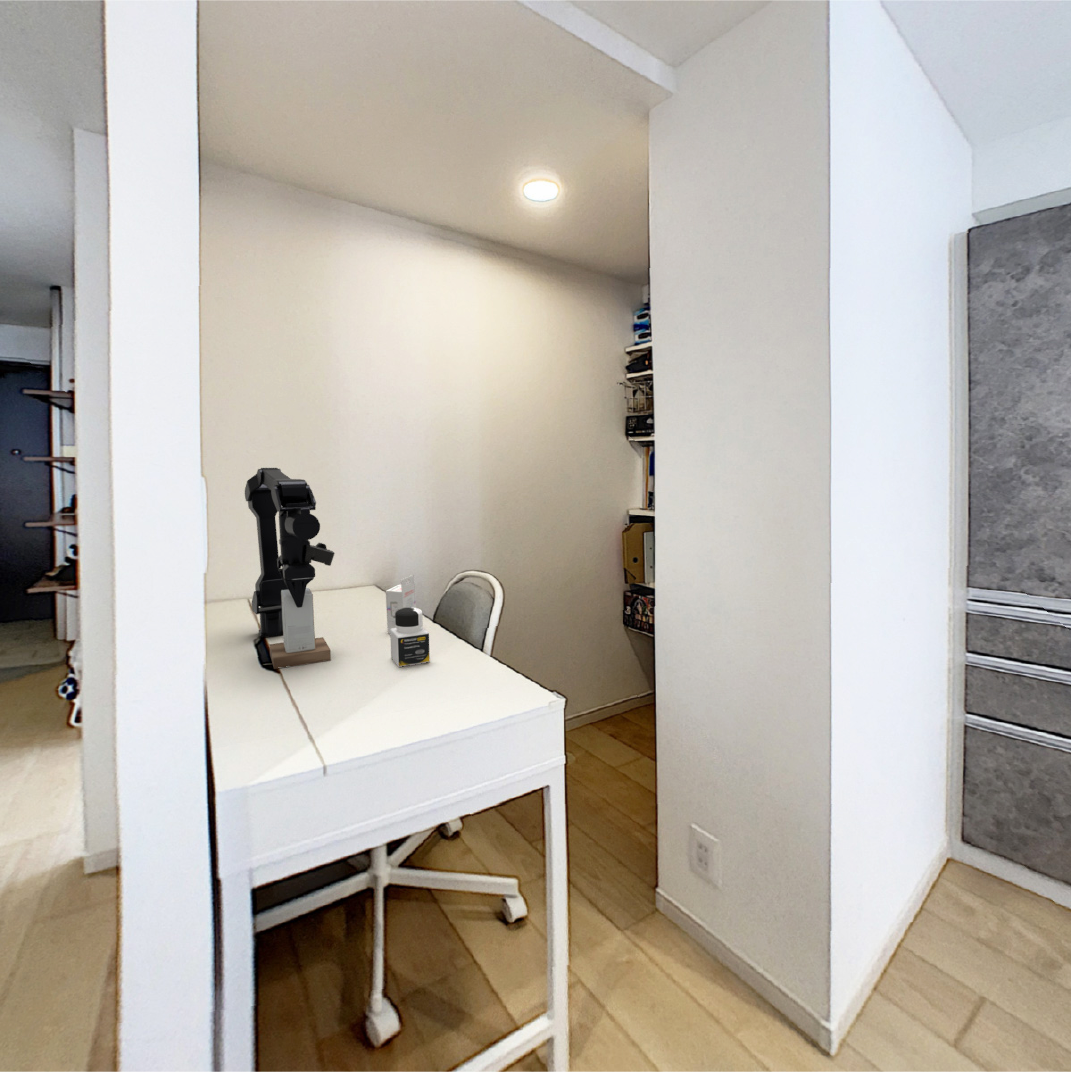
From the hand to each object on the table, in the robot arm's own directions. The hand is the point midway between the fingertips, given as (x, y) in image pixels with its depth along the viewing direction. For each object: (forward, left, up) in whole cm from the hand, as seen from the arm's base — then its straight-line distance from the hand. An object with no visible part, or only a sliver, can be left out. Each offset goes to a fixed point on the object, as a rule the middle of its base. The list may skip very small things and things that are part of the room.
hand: (297, 602), depth 137 cm
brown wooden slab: (0, 0, -13) cm, 13 cm away
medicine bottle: (+14, +22, -13) cm, 29 cm away
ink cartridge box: (-11, +27, -13) cm, 32 cm away
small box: (0, 0, -11) cm, 11 cm away
